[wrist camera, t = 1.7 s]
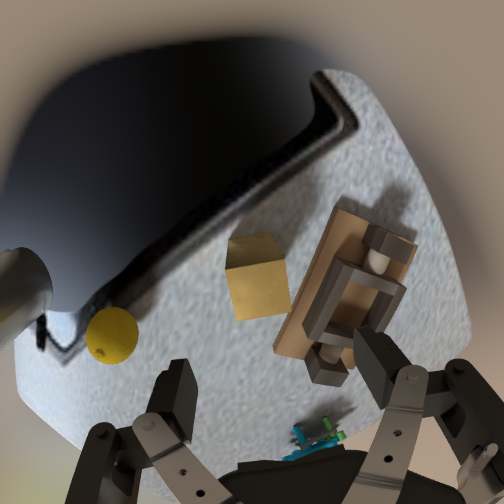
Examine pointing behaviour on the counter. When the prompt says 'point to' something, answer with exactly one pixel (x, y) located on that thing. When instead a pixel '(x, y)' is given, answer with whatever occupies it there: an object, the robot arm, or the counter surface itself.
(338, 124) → the counter surface
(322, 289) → the shaft rig
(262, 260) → the block
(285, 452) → the counter surface
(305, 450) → the blue-green animal figure
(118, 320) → the lemon
